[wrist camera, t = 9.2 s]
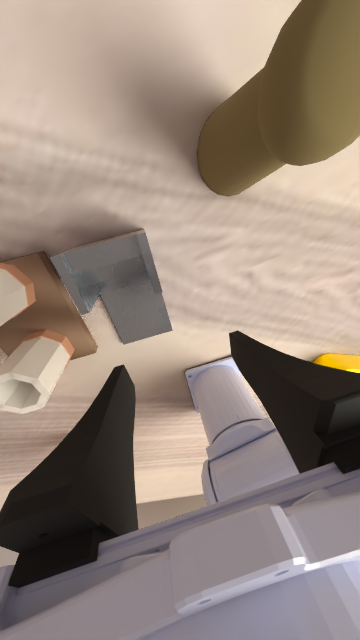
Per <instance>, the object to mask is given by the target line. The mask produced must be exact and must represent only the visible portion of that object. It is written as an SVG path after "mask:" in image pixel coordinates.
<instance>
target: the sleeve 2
mask: <svg viewBox="0 0 360 640" xmlns="http://www.w3.org/2000/svg"><path fill="white" fill-rule="evenodd" d="M74 350H75V349H74V348H73V346H72V345H71V343H70V342H69V340H68V338H67V337H66V336H64V335H61V334H58V333H56V332H53V331H50V330H43V331H39V332H36V333H32V334H29V335H28V336H27V337H26V338H25V339H24V340H23V341H22V342H21V344H20V345H19V346H18V347H17V348H16V349H15V351H14V352H13V353H12V354H11V355H10V356H9V357H8V358H7V359H6V360H5V361H4V362H3V363H2V364H1V365H0V410H3V411H9V412H15V413H20V414H25V413H28V412H31V411H35V410H38V409H41V408H44V406H45V404H46V403H47V401H48V399H49V397H50V395H51V393H52V391H53V389H54V387H55V385H56V383H57V381H58V380H59V378H60V376H61V374H62V372H63V370H64V369H65V368H66V366H67V364H68V363H69V360H70V358H71V356H72V354H73V352H74Z"/></svg>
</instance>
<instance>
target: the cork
mask: <svg viewBox="0 0 360 640" xmlns="http://www.w3.org/2000/svg"><path fill="white" fill-rule="evenodd" d="M359 135H360V0H302V1H301V2H300V3H299V4H298V6H297V7H296V8H295V10H294V11H293V12H292V14H291V15H290V17H289V18H288V20H287V21H286V22H285V24H284V25H283V27H282V28H281V31H280V33H279V35H278V37H277V40H276V42H275V44H274V46H273V49H272V51H271V53H270V55H269V58H268V60H267V62H266V65H265V67H264V68H263V69H262V70H260V71H259V72H258V73H257V74H256V75H255V76H254V77H253V78H251V79H250V80H249V81H248V82H247V83H246V84H245V85H243V86H242V87H241V88H240V89H239V90H238V91H237V92H236V93H234V94H233V95H232V96H231V97H230V98H229V99H228V100H226V101H225V102H224V103H223V104H222V105H221V106H220V107H219V108H217V109H216V110H215V111H214V112H213V113H212V114H211V116H210V117H209V118H208V120H207V121H206V122H205V124H204V126H203V129H202V131H201V134H200V137H199V142H198V149H197V158H198V167H199V170H200V173H201V175H202V178H203V180H204V182H205V183H206V184H207V186H208V187H209V188H210V189H211V190H212V191H214V192H216V193H217V194H219V195H224V196H232V195H237V194H239V193H241V192H242V191H244V190H246V189H247V188H249V187H250V186H252V185H253V184H255V183H257V182H258V181H260V180H261V179H263V178H265V177H266V176H268V175H269V174H271V173H272V172H274V171H276V170H277V169H279V168H280V167H282V166H283V165H285V164H291V165H297V166H302V165H307V164H312V163H317V162H320V161H323V160H326V159H328V158H329V157H331V156H333V155H334V154H336V153H337V152H339V151H341V150H342V149H344V148H345V147H347V146H348V145H350V144H351V143H353V142H354V141H355V140H356V139H357V138H358V136H359Z"/></svg>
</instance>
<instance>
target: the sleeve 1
mask: <svg viewBox="0 0 360 640" xmlns="http://www.w3.org/2000/svg"><path fill="white" fill-rule="evenodd" d="M35 301H36V299H35V292H34V284H33V281H31V280H30V279H29V278H28V277H27V276H26V275H25V274H23V273H22V272H21V271H20V270H19V269H18V268H17V267H15V266H14V265H11V264H4V263H0V326H2V325H3V324H4V323H6V322H7V321H8V320H10V319H11V318H14V317H16V316H17V315H18V314H20V313H21V312H22V311H24V310H25V309H26V308H27V307H29V306H30V305H31V304H33V303H34V302H35Z"/></svg>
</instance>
